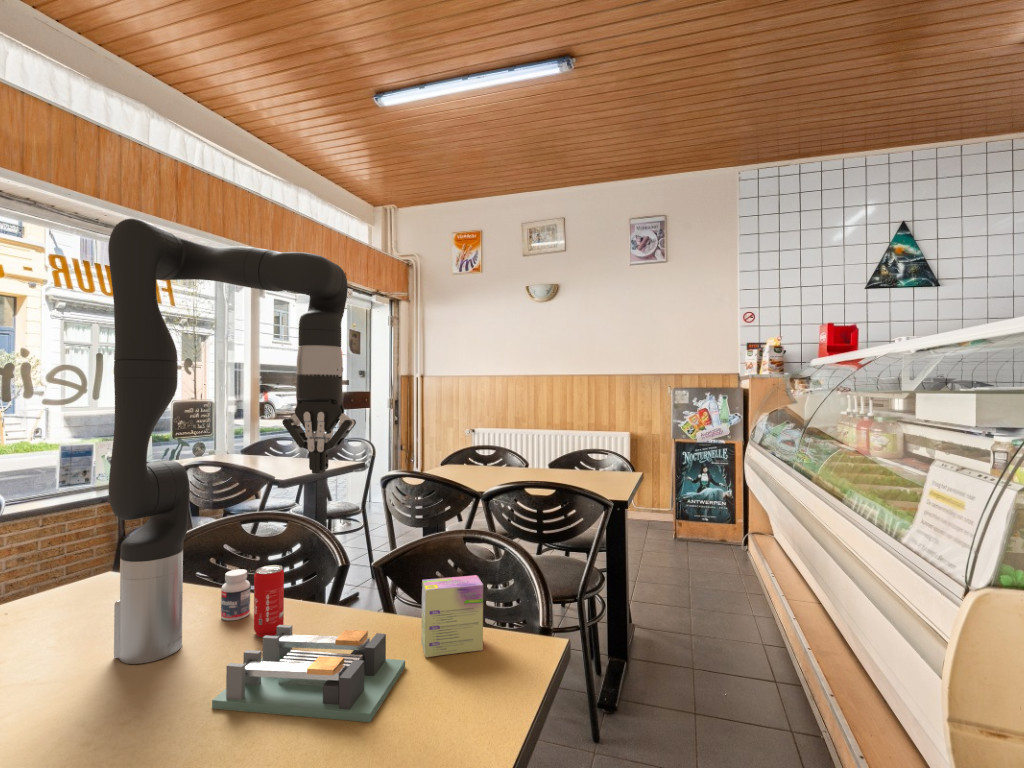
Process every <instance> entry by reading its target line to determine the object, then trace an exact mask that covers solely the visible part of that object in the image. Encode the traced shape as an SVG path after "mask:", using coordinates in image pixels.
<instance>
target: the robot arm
mask: <svg viewBox="0 0 1024 768" xmlns="http://www.w3.org/2000/svg"><path fill="white" fill-rule="evenodd" d="M107 248H108V251H107V252H108V253H107V254H108V265H109V271H110V273H109V274H110V279H111V280H110V281H111V289H112V297H113V315H114V316H113V317H114V323H113V324H114V355H113V360H114V361H113V366H114V367H113V384H114V385H113V386H114V421H113V422H114V426H113V427H114V429H113V437H112V438H113V441H112V448H111V449H112V451H111V458H110V459H111V460H110V467H109V477H108V500H109V505H110V508H111V511H112V513H113V514H114V516H116V517H117V518H118V519H119V520H122V521H133V520H139V519H143V518H148V519H147V521H146V522H145V524H144V525H142V527H140V528H139V529H138V530H137V531H136V532H134V533H132V534H131V535H129V536H128V537H126V538H125V539H124V540H123V541H122V542H121V544H120V549H119V550H120V551H119V554H120V555H119V557H120V560H119V562H120V565H119V566H120V567H119V599H118V600H116V601H115V602H114V611H113V612H114V614H113V616H114V617H113V618H114V619H113V621H114V622H113V623H114V625H113V627H114V629H113V658H114V659H119V661H120V662H122V663H123V664H126V665H127V664H128V665H129V664H130V665H136V664H137V665H140V664H146V663H151V662H155V661H158V660H161V659H165V658H167V657H169V656H172V655H174V654H175V653H176V652H178V651H179V650H180V649H181V648H182V646H183V601H184V600H183V595H184V594H183V593H184V592H183V590H184V589H183V588H184V585H183V584H184V583H183V582H184V581H183V580H184V578H183V577H184V576H183V575H184V572H183V571H184V565H183V563H184V562H183V561H184V541H185V538H186V535H187V533H188V523H189V522H188V520H189V507H190V506H189V505H190V497H191V496H190V494H191V491H190V490H191V489H190V479H189V478H190V477H189V475H188V473H187V471H186V469H185V467H184V465H182V464H181V463H180V462H177V461H174V460H164V461H157V462H156V461H155V462H148V450H149V445H150V444H149V443H150V439H151V436H152V433H153V431H154V429H155V427H156V426H157V424H158V423H159V421H160V419H161V418H162V416H163V415H164V413H165V411H166V410H167V408H168V407H169V405H170V403H171V402H172V401H173V399H174V396H175V394H176V392H177V389H178V371H179V370H178V369H179V368H178V351H177V347H176V344H175V341H174V339H173V337H172V335H171V332H170V329H169V328H168V325H167V324H166V322H165V319H164V318H163V317H164V316H162V313H161V310H160V307H159V303H158V302H159V301H158V296H157V281H175V280H176V281H177V280H178V281H181V280H183V281H184V280H185V281H187V280H189V281H190V280H192V281H193V280H195V281H196V280H201V281H213V282H218V283H225V284H229V285H235V286H238V287H245V288H250V289H255V290H262V291H269V292H283V291H286V292H292V293H298V294H301V295H306V296H309V302H308V309H307V312H305V313H302V315H300V317H299V320H298V349H297V354H296V355H297V356H296V357H297V358H296V388H295V389H296V390H295V391H296V402H297V404H296V406H295V408H294V413H293V414H292V415H290V416H289V417H288V418H284V419H282V423H281V424H282V425H283V426H284V428H285V429H286V431H287V432H288V433H289V435H290V437H291V438H292V439H293V440H294V442H295V444H296V445H297V446H298V448H300V449H302V448H303V449H305V450H307V451H308V453H309V454H308V456H309V457H308V458H309V459H308V464H309V465H308V468H309V470H310V471H311V474H315V475H317V474H318V475H321V474H324V473H326V470H328V469H329V454H330V453H329V452H330V450H332V449H336V448H339V447H340V446H341V444H342V443H343V442H344V440H346V438H347V437H348V435H349V434H350V432H351V431H352V430H353V429H354V427H355V426H356V424H357V421H356V419H354V418H350V417H349V416H348V415H347V414H346V413H345V409H344V407H343V403H342V401H343V375H344V367H343V366H344V363H343V361H344V360H343V354H342V320H343V317H344V313H345V310H346V304H347V298H348V287H349V286H348V285H349V284H348V279H347V275H346V273H345V271H344V269H343V268H342V267H341V266H339V264H337V263H335V262H333V261H332V260H329V259H328V258H326V257H325V256H322V255H319V254H315V253H311V252H310V253H309V252H302V251H301V252H300V251H299V252H298V251H283V252H281V251H277V250H271V249H266V248H260V247H252V246H251V247H250V246H244V245H238V246H237V245H233V246H211V245H205V244H201V243H198V242H195V241H192V240H188V239H186V238H183V237H180V236H179V235H175V234H174V233H173V232H171V231H170V230H168V229H165V228H162V227H160V226H157V225H155V224H153V223H150V222H148V221H144V220H142V219H138V218H132V217H131V218H125V219H123V220H121V221H119V222H118V223H117V224H116V225H115V226H114V228H113V229H112V231H111V233H110V235H109V239H108V247H107ZM337 424H338V427H339V428H338V429H336V431H335V432H334V428H335V427H336V426H337ZM301 425H302V426H301ZM303 428H304V429H303ZM304 430H305V431H304ZM333 433H334V434H333Z"/></svg>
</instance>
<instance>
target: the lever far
mask: <svg viewBox="0 0 1024 768" xmlns="http://www.w3.org/2000/svg"><path fill="white" fill-rule="evenodd" d="M278 636H279V647H288V648H292V649H294V648H295V649H316V650H317V649H321V650H341V651H342V650H344V651H353V650H365V647H366V645H367V644H368V643H369V642H370V641H371V639H370V637H368V636H369V630H353V629H345V630H343V631H342V632H341V633H340V635H338V636H337V635H336V636H335V635H316V634H315V635H314V634H313V635H311V634H309V635H308V634H292V635H289V634H284V633H281V634H279V635H278Z"/></svg>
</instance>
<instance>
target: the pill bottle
mask: <svg viewBox="0 0 1024 768" xmlns="http://www.w3.org/2000/svg"><path fill="white" fill-rule="evenodd" d="M224 575H225V576H224V579H225V580H224V583H223V584H222V586H221V590H220V594H221V597H220V618H221V619H222V620H223V621H228V622H229V621H238V620H241V619H244V618H246V617H248V616H249V615H250V612H251V607H250V606H251V583H250V581H249V580H247V578H248V570H247V569H243V568H242V569H241V568H238V569H237V568H236V569H232V570H229V571H227V572H226V573H225V574H224Z"/></svg>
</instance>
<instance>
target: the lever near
mask: <svg viewBox="0 0 1024 768" xmlns="http://www.w3.org/2000/svg"><path fill="white" fill-rule="evenodd" d="M244 664H245V676H255V677H277V678H298V679H319V680H339V677H340V676H341V675H342V674H343V673H344V671H345V670H346V665H343V664H344V657H320V656H319V657H318V658H317V659H316V660H315V661H314V662H313V663H312V664H311V663H288V662H264V661H252V660H247V661H246V662H245V663H244Z"/></svg>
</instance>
